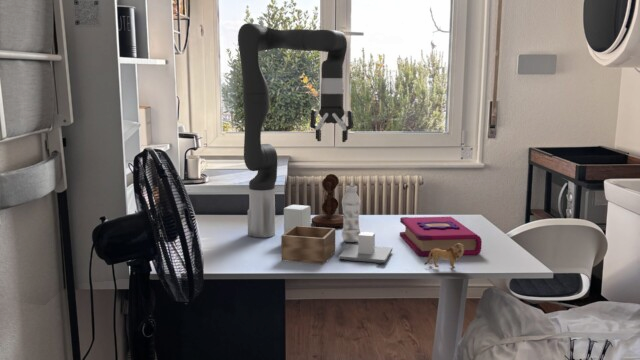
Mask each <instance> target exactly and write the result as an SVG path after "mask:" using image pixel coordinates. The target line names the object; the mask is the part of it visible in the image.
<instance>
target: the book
mask: <svg viewBox="0 0 640 360" xmlns="http://www.w3.org/2000/svg"><path fill="white" fill-rule="evenodd" d="M399 222H400V223H401V225H404V226H405V230H404V231H401V232H399V237H401V238H402V239H403V240H404V241H405V242H406V244H407V245H408V246H409V247H410V248H411V249H412V251H414V253H415V254H416V255H417V257H420V258H428V257H429V254H430V252H431V250H433V249H440V250H448V249H449V248H451V247H453V246H455V244H457V243H460V244H462V245H464V253H463V255H462V256H461V257H463V256H464V257H465V256H466V257H467V256H478V255H480V253H481V251H482V244H483V243H482V237H481V236H479V235H478V234H477V233H475V232H474V231H472V230H471V229H470V228H468V227H466V226H465V225H464V224H462V223H461V222H460V221H458V219H457V220H456V219H455V218H454V217H453V216H421V217H418V216H415V217H410V216H408V217H407V216H406V217H405V216H402V217H400V220H399ZM431 256H432V254H431ZM431 256H430V257H431Z"/></svg>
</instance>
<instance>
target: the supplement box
mask: <svg viewBox="0 0 640 360" xmlns="http://www.w3.org/2000/svg"><path fill="white" fill-rule="evenodd" d="M311 211H312V210H311V206H310V205H301V204H290V205H288V206H286V207H284V208H283V234H284V233H286V232H287V231H288V230H290V229H291V228H292V227H294V226H307V227H312V222H311V221H312V220H311V219H312V218H311V217H312V215H311V213H312V212H311Z"/></svg>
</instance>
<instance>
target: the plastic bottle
mask: <svg viewBox="0 0 640 360" xmlns="http://www.w3.org/2000/svg"><path fill="white" fill-rule="evenodd" d="M345 191H346V192H345V194H344V196H343V197H342V199H341V205H342V206H341V207H342V215H343V216H344V217H343V219H344V220H343V225H342V228H341V229H342V230H341V238H342V241H343V242H346V243H357V242H358V235H359V234H360V233H361V229H360V210H361V209H360V208H361V202H362V201H361V198H360V196H359V195H358V193H357V192H358V186H357V185H354V184H352V185H351V184H349V185H346V186H345Z"/></svg>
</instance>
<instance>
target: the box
mask: <svg viewBox="0 0 640 360" xmlns="http://www.w3.org/2000/svg"><path fill="white" fill-rule="evenodd" d="M280 239H281V241H280V242H281V249H280V250H281V252H280V253H281V255H280V256H281V259H280V260H281V261H286V262H298V263H310V264H320V265H321V264H322V265H325V264H326V263H327V262H328V261H329V260H330V258H331V257H332V256H333V255H335V253H336V228H333V227H322V226H318V227H315V226H311V227H307V226H294V227H292V228H291V229H290V230H288V231H287V232H286V233H284V232H283V234H282V235H281V237H280Z"/></svg>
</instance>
